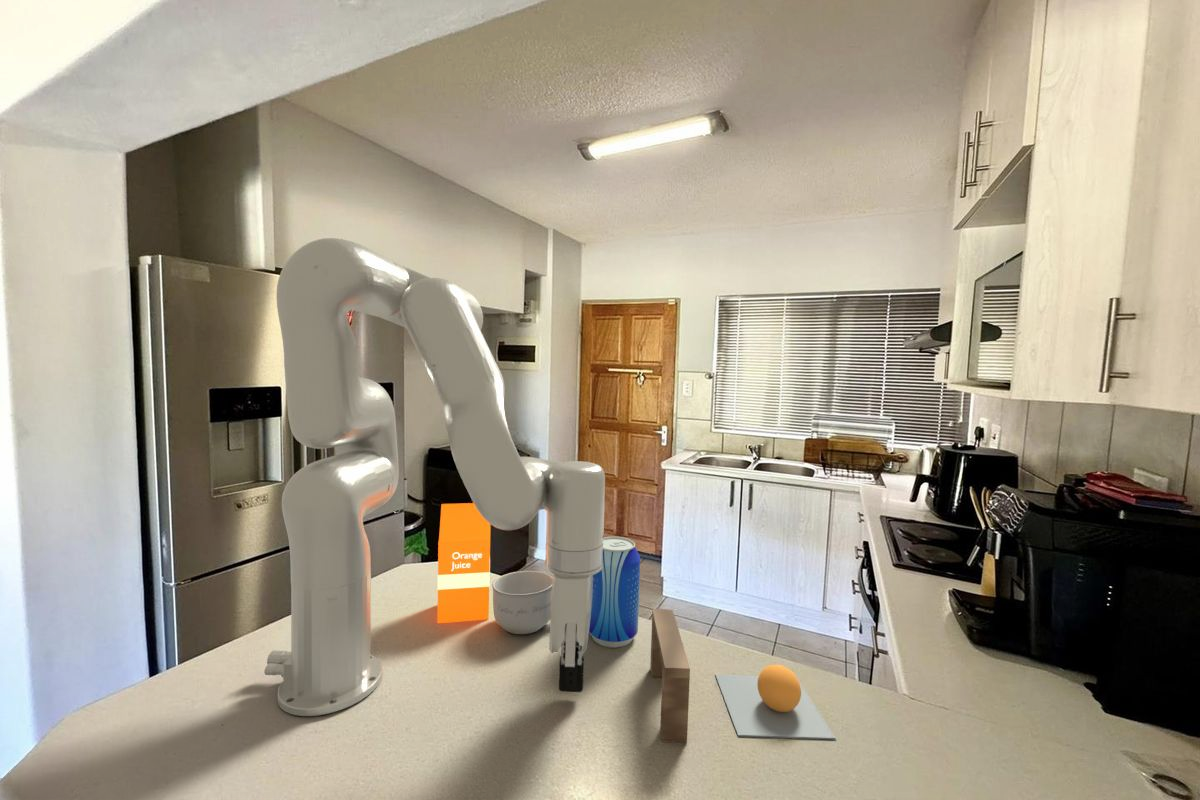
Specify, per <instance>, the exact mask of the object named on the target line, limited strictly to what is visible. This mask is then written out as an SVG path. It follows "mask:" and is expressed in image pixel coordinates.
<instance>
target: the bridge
mask: <svg viewBox="0 0 1200 800" xmlns="http://www.w3.org/2000/svg"><path fill="white" fill-rule="evenodd" d="M651 614H652V615H651V636H650V637H651V638H650V640H651V641H650V674H651V675H650V676H651V678H661V695H660V696H661V697H660V698H661V701H660V703H661V704H660V725H659V728H660V729H659V730H660V735H661V737H662V738H661V742H662V741H667V742H666V743H672V742H671V741H674V742H673V743H688V730H689V729H688V726H689V704H690V699H689V698H690V682H691V678H690V676H691V668H690V664H689V660H688V657H687V654H686V651H685V647H684V643H683V640H682V635H681V634H680V631H679V627H678V623H677V620H676V617H675V614H674V610H673V609H668V608H667V609H663V608H653V609H652V611H651Z"/></svg>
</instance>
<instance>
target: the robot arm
mask: <svg viewBox="0 0 1200 800" xmlns="http://www.w3.org/2000/svg"><path fill="white" fill-rule="evenodd" d="M276 308H277V315H278V320H279V326H280V332H281V338H282V346H283V366H284V376H285V377H284V379H285V380H284V381H285V393H286V405H287V406H286V407H287V415H288V417H287V418H288V423H289V429H290V432H291V433H292V435H293V437H294V438H295V440H296V441H297V442H299V443H300V444H301V445H302V446H305V447H307V448H311V449H317V450H322V449H323V450H324V449H329V448H330V449H331V448H334V449H335V455H331V456H329V457H326V458H322V459H318V460H315V461H313V462H311V463H309V464H307V465H305V466H303V467H302V468H300V469H299V470H298V471H296V472H295V473H294V474H293V475H292V476H291V477H290V478H289V480H288V481H287V483H286V484H285V486H284V489H283V492H282V496H281V510H282V515H283V517H282V518H283V521H284V526H285V529H286V533H287V538H288V545H289V546H288V547H289V557H290V558H289V559H290V561H289V562H290V585H291V586H290V590H291V592H290V597H291V598H290V601H291V602H290V603H291V604H290V605H291V606H290V607H291V609H290V614H291V615H290V616H291V617H290V618H291V621H290V622H291V623H290V628H291V629H290V630H291V633H290V634H291V635H290V637H291V638H290V639H291V641H290V643H291V644H290V645H291V651H290V650H289V651H288V650H272V651H271V652H270V653H269V654H268V657H267V659H266V663H267V664H266V666H265V668H264V676H265V675H266V676H281V678H283V679H282V682H281V683H280V685H279V687H278V689H277V704H278V706H279V707H280V709H282V710H283V711H284V712H285V713H288V714H291V715H294V716H299V717H314V716H316V717H317V716H323V715H328V714H332V713H335V712H338V711H342V710H344V709H347V708H349V707H352V706H354V705H355V704H357V703H359V702H360V701H363V699H365V698H367V697H368V696H369V695H370V694H371V693H372V692H374V690H375V689H376V688H377V687H378V685H380V683H381V681H382V678H383V664H382V662H381V660H380V659H379V658H378V657H376V656H375V655H373V654H372V653H371V651H372V650H371V649H372V647H371V644H372V643H371V642H372V641H371V640H372V638H371V637H372V635H371V633H372V631H371V630H372V628H371V627H372V625H371V624H372V623H371V621H372V619H371V618H372V616H371V615H372V614H371V613H372V607H371V606H372V592H371V591H372V567H371V565H372V562H371V561H372V560H371V555H372V554H371V547H370V542H369V540H368V535H367V533H366V530H365V527H364V521H363V520H364V517H366V516H367V515H368V514H370V513H372V512H373V511H376V510H377V509H379V508H380V507H382V506H383V505H385V504H386V503H387V502H388V501H390V499H392V497H393V496H394V495H395V493H396V490H397V488H398V485H399V484H398V483H399V479H400V478H399V475H400V473H399V472H400V468H399V467H400V466H399V449H398V437H397V436H398V435H397V421H396V420H397V419H396V412H395V407H394V404H393V400H392V398H391V397H390V395H389V393H388V392H387V390H386V389H385V388H384V387H383V386H381V384H379V383H378V382H376V381H374V380H372V379H369V378H366V377H360V371H359V363H358V348H357V341H356V338H355V335H354V332H353V330H352V328H351V325H350V323H349V321H348V319H349V318H348V313H349V312H350V311H352V312H353V311H355V312H358V313H362V314H365V315H370V316H374V317H378V318H381V319H382V320H385V321H388V322H391V323H393V324H396V325H398V326H401V327H403V328H405V329H406V330H407V333H408V334H409V336H410V338H411V341H412V342H413V345H414V346H415V349H416V351H417V354H418V355H419V356H420V359H421V361H422V363H423V365H424V367H425V369H426V372H427V373H428V376H429V378H430V379H431V382H432V384H433V386H434V390H435V391H436V393H437V395H438V397H439V399H440V402H441V404H442V406H443V407H442V408H443V413H444V424H445V428H446V432H447V436H448V437H447V438H448V441H449V447H450V451H451V455H452V458H453V461H454V464H455V466H456V470H457V472H458V473H459V476H460V478H461V480H462V483H463V485H464V487H465V489H466V490H467V493H468V495H469V497H470V498H471V502H472V503H474V505H475V507H476V508H477V510H478V511H479V513H480V514H481V515H482V517H483V518H484V519H485V520H486V521H487V522H488V523H490V526H493V527H494V528H496V529H499V530H503V531H513V530H518V529H521V528H523V527H526V526H527V525H528V524H530V522H532V521H533V520H534V518H535V517H536V516H537V514H538V513H539V512H540V511H541V510H545V511H546V512H547V519H546V520H547V521H546V522H547V524H546V525H547V528H546V529H547V530H546V562H545V563H546V565H545V566H546V569H547V570H548V571H549V572H550V573H551V574H553V576H552V577H553V583H552V597H551V618H550V620H549V621H550V622H549V623H550V624H549V625H550V627H549V642H548V650H549V651H550V653H551V654H552V653H553V654H554V653H558V652H559V650H560V656H559V657H560V658H559V669H558V671H559V672H558V676H559V677H558V690H559V691H560V692H564V693H566V692H567V693H568V692H569V693H582V692H583V689H584V673H585V671H584V670H585V669H584V666H585V656H583V654H584V653H585V652H586V651H587V649H588V642H589V641H588V640H589V636H590V635H589V634H590V633H589V628H590V619H591V608H592V592H593V575H594V574H596V573H598V572H599V571H600V570H601V569H602V567H603V538H604V531H605V529H604V526H605V525H604V524H605V523H604V522H605V501H606V500H605V498H606V497H605V495H606V492H605V491H606V475H605V471H604V469H603V467H602V466H600V465H599V464H597V463H594V462H590V461H581V460H580V461H579V460H578V461H577V460H570V461H554V460H549V459H548V460H547V459H543V458H538V457H533V456H521V455H520V454H519V452H518V449H517V447H516V445H515V443H514V441H513V438H512V436H511V435H512V434H511V432H510V430H509V426H508V423H507V419H506V418H507V417H506V414H505V413H506V412H505V392H506V391H505V390H506V388H505V387H506V385H505V381H504V380H505V379H504V377H503V374H502V372H501V370H500V368H499V367H498V364H497V362H496V360H495V358H494V356H493V354H492V352H491V349H490V348H489V345H488V343H487V342H486V339H485V336H484V334H483V333H482V329H483V324H484V313H483V310H482V307H481V305H480V303H479V300H477V298H475V296H474V295H473V294H472V293H470V292H469V291H467V290H466V289H464V288H463V287H461V286H460V285H457V284H456V283H453V282H451V281H449V280H447V279H444V278H439V277H430V276H427V275H425V274H422V273H421V272H418V271H415V270H413V269H410V268H408V267H406V266H404V265H402V264H399V263H397V262H395V261H393V260H391V259H390V258H387V257H385V256H383V255H382V254H379V253H378V252H376V251H374V250H372V249H369V248H368V247H366V246H364V245H362V244H359V243H357V242H354V241H352V240H351V241H350V240H347V239H343V238H336V237H331V238H330V237H329V238H321V239H316V240H313V241H310V242H309V243H306V244H305V245H303V246H301V247H300V248H298V249H297V250H296V251H295V252H294V253H293V254H292V255H291V256H290V257H289V258H288V260H287V261H286V262H285V263H284V266H283V268H282V269H281V271H280V274H279V276H278V281H277V285H276Z"/></svg>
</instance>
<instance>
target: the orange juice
mask: <svg viewBox="0 0 1200 800" xmlns="http://www.w3.org/2000/svg"><path fill="white" fill-rule="evenodd" d="M439 520H440V521H439V534H438V535H439V536H438V543H437V545H438V548H437V550H438V551H437V552H438V553H437V557H438V559H437V624H448V623H458V622H459V623H461V622H470V621H471V622H472V621H484V620H485V621H486V619H487V620H489V619H490V615H489V614H490V582H491V581H490V578H491V576H490V575H491V524H490V523H488V522H487V521H486V520H485V519H484V518H483V517H482V515H481V514H480V513H479V511H478V510H477V508H476V507H475V505H474V503H473V502H472V503H471V502H467V503H465V502H464V503H441V507H440V519H439Z"/></svg>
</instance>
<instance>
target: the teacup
mask: <svg viewBox="0 0 1200 800" xmlns="http://www.w3.org/2000/svg"><path fill="white" fill-rule="evenodd" d="M552 583H553V576H552V575H550V574H549V573H546V572H543V571H537V570H520V571H513V572H509V573H506V574H503V575H500V576H499V577H497V578H495V579H494V581H493V582H492V584H491V586H492V606H493V617H494V620H495V622H496V623H497V625H499V626H500V627H501V628H502V629H504V630H505V631H507V632H508V633H511V634H515V635H528V634H533V633H535V632H538V631H539V630H542V628H543V627H544V626H545V625H546V624H548V622H549V621H550V620H551V597H552Z"/></svg>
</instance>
